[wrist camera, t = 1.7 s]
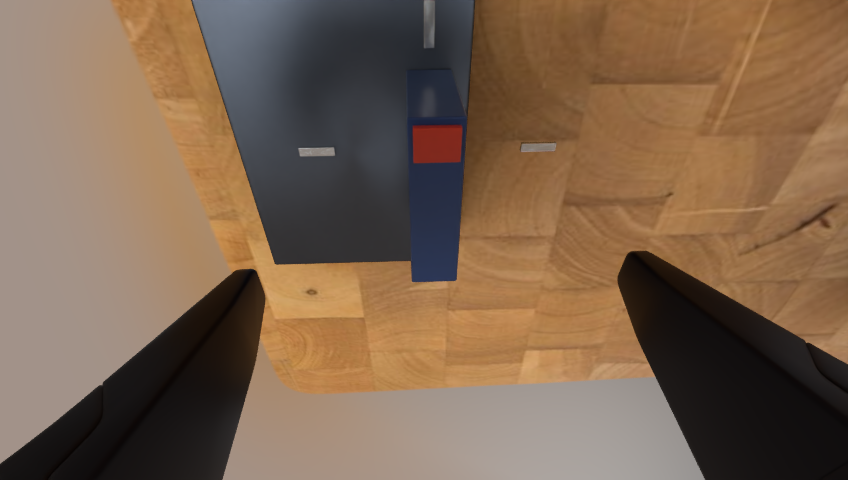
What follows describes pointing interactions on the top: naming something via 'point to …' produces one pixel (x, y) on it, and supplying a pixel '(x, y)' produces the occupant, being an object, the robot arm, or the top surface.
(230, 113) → the tap plate
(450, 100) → the tap handle
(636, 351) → the top surface
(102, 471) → the robot arm
